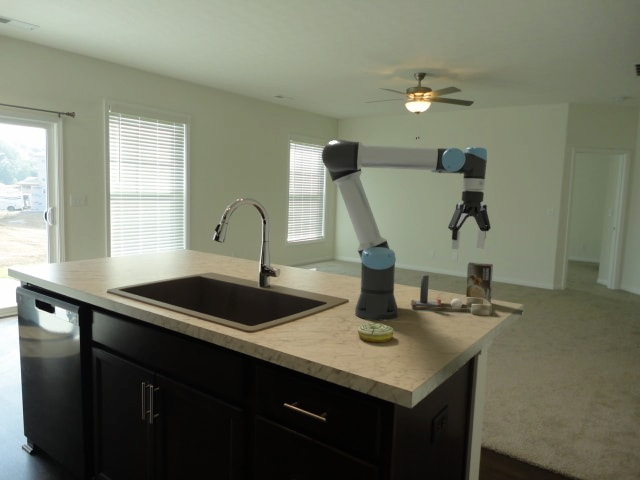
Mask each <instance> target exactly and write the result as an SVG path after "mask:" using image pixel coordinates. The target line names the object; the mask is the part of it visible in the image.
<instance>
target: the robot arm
mask: <svg viewBox="0 0 640 480" xmlns="http://www.w3.org/2000/svg"><path fill="white" fill-rule="evenodd" d="M487 151H488V150H487V148H485V147H479V146H472V147H471V146H470V147H466V148H465V151H463V150H461V149H460V148H458V147H450V148H441V147H439V148H437V147H420V146H419V147H415V146H395V145H394V146H393V145H370V144H368V145H367V144H363V142H361V141H353V140H352V141H351V140H344V139H334V140H331V141H329V142H327V144H325V146H324V147H323V149H322V152H321V160H322V163H323V165H324V166H325V168H326V169H327V170H328V173H329V175H330V178H331V181H332V183H333V184H335V185H337V186H338V188H339V192H340V193H341V196H342V199H343V203H344V205H345V207H346V210H347V213H348V216H349V218H350V221H351V224H352V227H353V229H354V232H355V235H356V237H357V238H356V239H357V241H358V244H359V245H358V247H357V252H358V255H359V258H360V260H361V269H360V270H361V271H360V272H361V275H360V276H361V279H360V294H359V295H358V299H357V302H356V305H355V309H354V310H355V311H354V312H355V313H354V314H355V315H356V317H360V318H362V319H366V320H372V321H389V320H393V319H396V318H398V317H399V309H398V304H397V301H396V297H395V294H394V293H395V274H396V273H395V267H396V254H395V251H394V250H392V249H390V246H389V243H388V241H387V238H385V237H383V236H381V233H380V230H379V228H378V227H379V226H378V225H377V222H376V219H375V216H374V214H373V211H372V208H371V204H370V202H369V199H368V197H367V195H366V192H365V188H364V186H363V183H362V180H361V178H360V177H361V175H362V173H363V171H362V168H369V169H370V168H371V169H392V170H393V169H395V170H416V171H417V170H418V171H431V172H432V173H436V174H459V175H460V174H462V175H463V177H462V178H463V179H462V190H463V191H461V201H462V202H463V203H456V206H455V210H454V213H453V214H452V217H451V220H450V221H449V224H448V226H447V228H448V229H449V231H452V232H451V240H452V241H451V250H452V249H453V250H460V243H461V231H460V230H461V228H462V226H463V225H464V223H465V222H466V220H467V219H468V218H470V217H473V218H474V220H475V222H476V224H477V226H478V228H479V230H477V231H478V232H477V240H476V243H477V244H476V248H477V249H485V242H486V237H487V236H486V235H487V232H489V231H490V230H491V223H490V220H489V214H488V208H487V207H488V205H487V204H482V203H483V202H484V190H485V182H486V181H485V179H486V174H487V173H486V172H487V171H486V170H487V162H488V152H487Z"/></svg>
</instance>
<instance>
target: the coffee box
mask: <svg viewBox="0 0 640 480" xmlns="http://www.w3.org/2000/svg"><path fill="white" fill-rule="evenodd" d="M493 267H494V265H493V263H481V262H469V263H468V264H467V267H466V269H467V270H466V272H467V273H466V275H467V277H466V292H465V293H466V296H465V298H466V297H474V298H485V299H486V300H487V301H488V302H489V303H490V304H491V305H492V295H493V294H492V293H493V289H492V287H493V271H494V270H493Z"/></svg>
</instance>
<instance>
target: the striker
mask: <svg viewBox="0 0 640 480" xmlns="http://www.w3.org/2000/svg"><path fill="white" fill-rule="evenodd" d="M429 279H430V276H429V275H428V274H421V275H420V289H419V290H420V293H419V294H420V295H419V296H420V297H419V300H414V301H415V305H416V306H428V307H441V303H442V299H441V297H440V296H436V301H429V300H428V299H429Z"/></svg>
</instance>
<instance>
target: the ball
mask: <svg viewBox="0 0 640 480" xmlns="http://www.w3.org/2000/svg"><path fill="white" fill-rule="evenodd" d="M450 303H451V306H452V308H461V307H462V304H463V303H462V301H461V299H459V298H453V299H452V300H451V301H450Z"/></svg>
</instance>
